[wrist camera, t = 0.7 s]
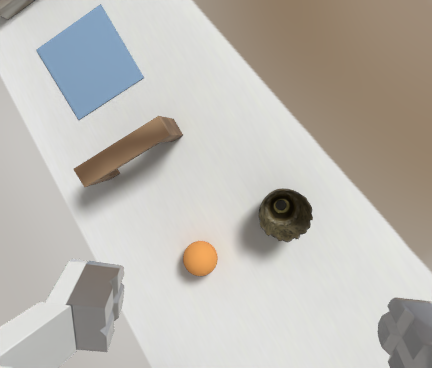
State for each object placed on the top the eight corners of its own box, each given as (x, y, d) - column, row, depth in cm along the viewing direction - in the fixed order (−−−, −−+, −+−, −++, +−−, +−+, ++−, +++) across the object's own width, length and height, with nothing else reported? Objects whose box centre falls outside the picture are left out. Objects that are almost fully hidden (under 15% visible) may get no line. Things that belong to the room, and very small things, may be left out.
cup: (249, 212, 57) (248, 224, 50) (272, 173, 56) (276, 180, 48) (288, 235, 57) (294, 251, 49) (313, 197, 56) (323, 207, 48)
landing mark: (143, 77, 56) (143, 77, 56) (79, 119, 58) (78, 119, 58) (101, 4, 55) (100, 4, 55) (37, 50, 57) (36, 49, 57)
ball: (225, 259, 59) (222, 271, 54) (197, 273, 60) (191, 287, 54) (208, 231, 59) (203, 241, 53) (180, 246, 59) (173, 257, 54)
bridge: (183, 135, 57) (169, 135, 48) (110, 179, 59) (84, 187, 50) (173, 118, 57) (158, 115, 48) (101, 163, 59) (73, 169, 50)
